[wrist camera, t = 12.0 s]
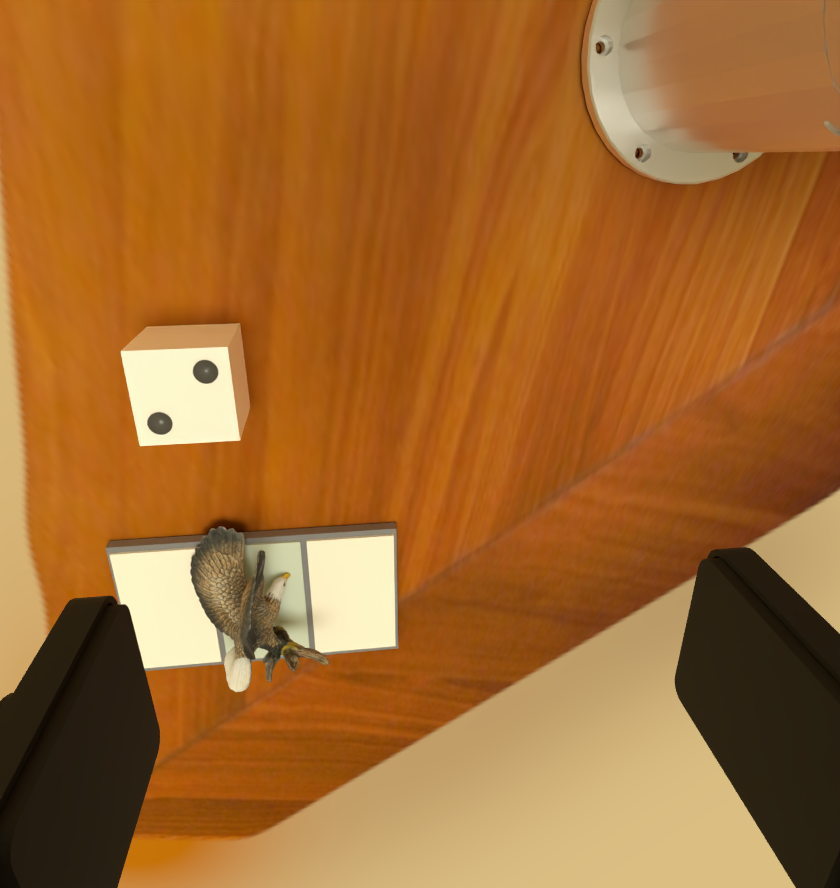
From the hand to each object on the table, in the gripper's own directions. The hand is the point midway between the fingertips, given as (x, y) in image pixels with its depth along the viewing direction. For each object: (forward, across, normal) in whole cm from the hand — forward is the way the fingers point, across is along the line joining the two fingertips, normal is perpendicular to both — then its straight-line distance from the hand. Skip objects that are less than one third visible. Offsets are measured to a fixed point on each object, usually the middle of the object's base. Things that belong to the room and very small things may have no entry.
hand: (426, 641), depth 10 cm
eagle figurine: (+27, +8, +18) cm, 33 cm away
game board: (+28, +8, +20) cm, 35 cm away
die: (+28, +10, +4) cm, 30 cm away
